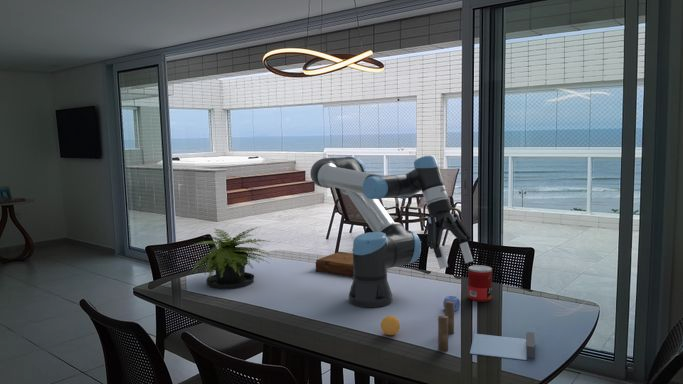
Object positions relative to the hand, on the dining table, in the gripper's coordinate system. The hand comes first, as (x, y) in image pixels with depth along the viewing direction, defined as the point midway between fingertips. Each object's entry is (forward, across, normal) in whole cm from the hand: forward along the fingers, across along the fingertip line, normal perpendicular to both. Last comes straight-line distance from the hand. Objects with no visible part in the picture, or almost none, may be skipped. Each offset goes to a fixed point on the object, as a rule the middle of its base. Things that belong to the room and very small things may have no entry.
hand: (457, 265), depth 164 cm
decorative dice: (+13, +3, +10) cm, 17 cm away
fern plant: (-18, -32, +85) cm, 92 cm away
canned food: (+13, +19, +9) cm, 25 cm away
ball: (+12, -27, +9) cm, 31 cm away
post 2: (+18, -14, 0) cm, 23 cm away
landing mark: (+24, -13, -15) cm, 31 cm away
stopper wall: (+27, -9, -21) cm, 36 cm away
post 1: (+21, -25, -6) cm, 33 cm away
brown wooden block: (-11, +15, +66) cm, 68 cm away
